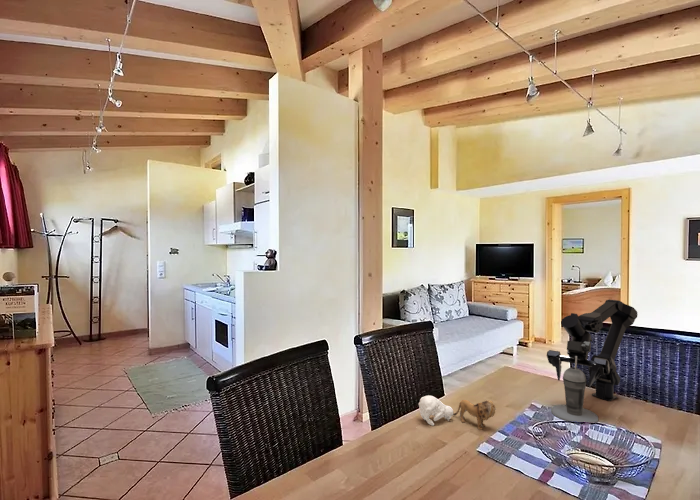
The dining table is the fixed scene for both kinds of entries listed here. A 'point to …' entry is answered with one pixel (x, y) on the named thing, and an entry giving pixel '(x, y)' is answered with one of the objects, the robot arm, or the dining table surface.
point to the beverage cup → (574, 389)
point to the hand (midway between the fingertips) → (573, 382)
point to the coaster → (562, 413)
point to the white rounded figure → (434, 409)
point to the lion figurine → (477, 411)
